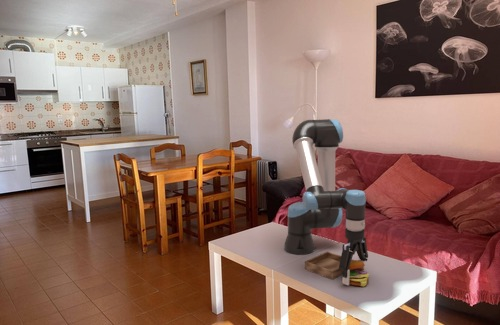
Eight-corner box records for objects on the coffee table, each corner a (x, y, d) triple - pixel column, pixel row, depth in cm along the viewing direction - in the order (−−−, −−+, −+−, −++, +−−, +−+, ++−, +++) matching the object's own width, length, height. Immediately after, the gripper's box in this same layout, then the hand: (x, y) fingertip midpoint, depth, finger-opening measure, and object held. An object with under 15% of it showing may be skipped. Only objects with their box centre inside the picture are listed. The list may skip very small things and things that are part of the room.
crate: (304, 268, 169) (304, 261, 169) (327, 258, 180) (327, 251, 180) (332, 279, 159) (332, 271, 158) (354, 267, 170) (354, 260, 169)
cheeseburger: (355, 290, 149) (351, 264, 150) (338, 285, 159) (334, 261, 159) (374, 284, 153) (371, 259, 154) (357, 279, 163) (353, 256, 164)
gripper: (346, 238, 143) (345, 292, 147) (378, 223, 159) (376, 273, 162) (330, 233, 149) (329, 286, 152) (361, 220, 164) (360, 268, 168)
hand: (353, 279), depth 157 cm, fingers closed on cheeseburger, 11 cm apart
